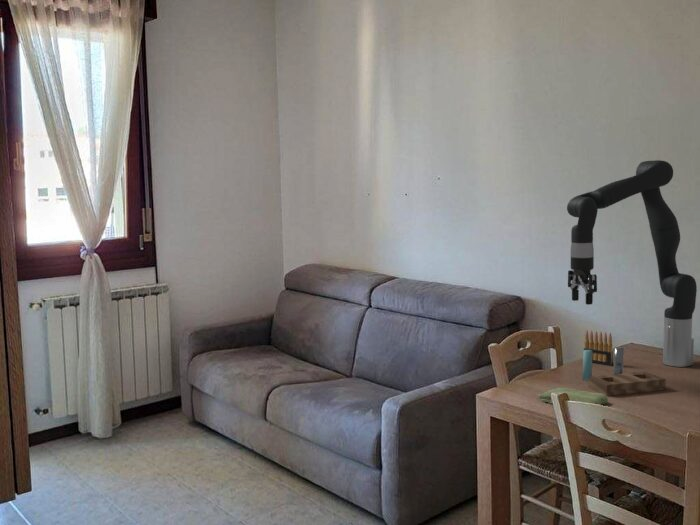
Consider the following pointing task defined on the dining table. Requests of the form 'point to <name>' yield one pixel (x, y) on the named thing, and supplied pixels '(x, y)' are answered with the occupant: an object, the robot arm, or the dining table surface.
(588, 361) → the teal peg
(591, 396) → the washcloth
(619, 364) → the steel peg
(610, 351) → the ammunition clip
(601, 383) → the hole block
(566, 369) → the dining table surface
